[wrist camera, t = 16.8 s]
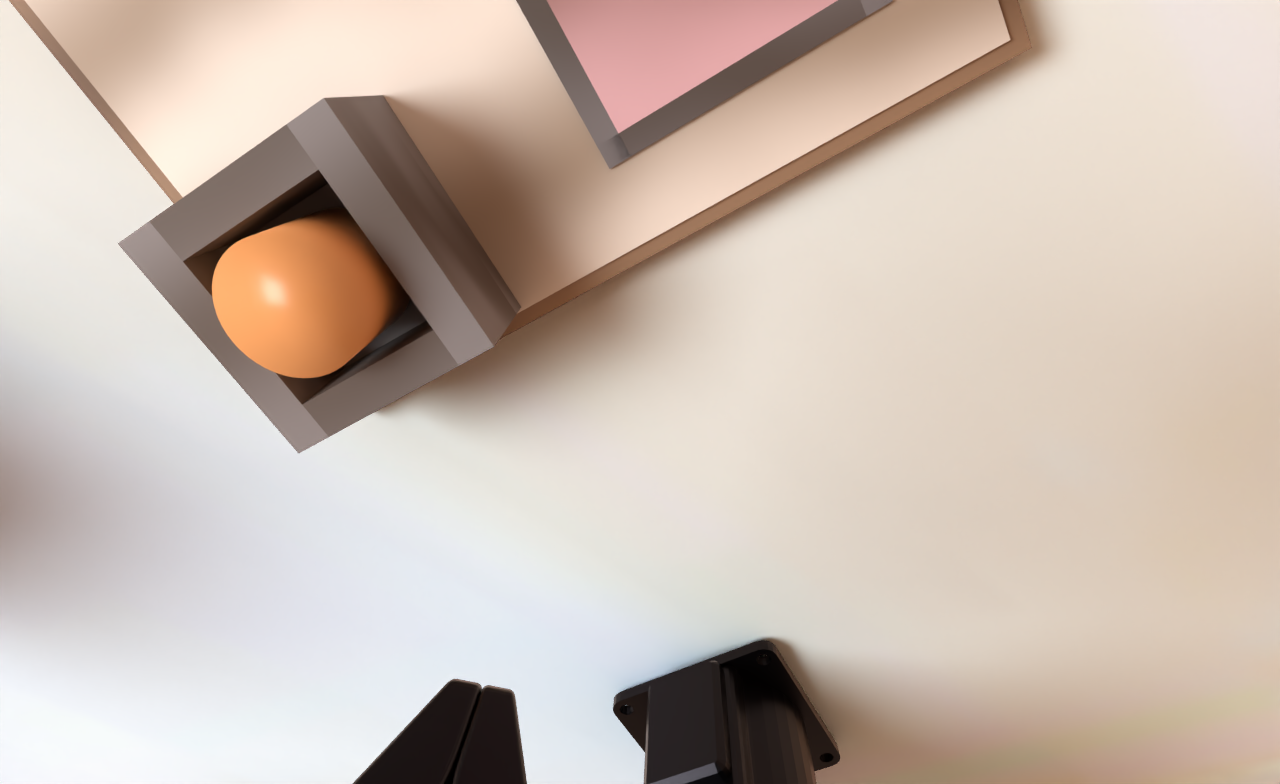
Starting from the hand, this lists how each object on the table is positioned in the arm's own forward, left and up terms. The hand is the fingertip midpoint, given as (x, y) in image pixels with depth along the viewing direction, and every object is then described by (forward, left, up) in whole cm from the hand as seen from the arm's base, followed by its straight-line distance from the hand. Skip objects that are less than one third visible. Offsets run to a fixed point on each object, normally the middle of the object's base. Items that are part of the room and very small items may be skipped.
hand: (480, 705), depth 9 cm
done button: (+5, +4, -10) cm, 12 cm away
